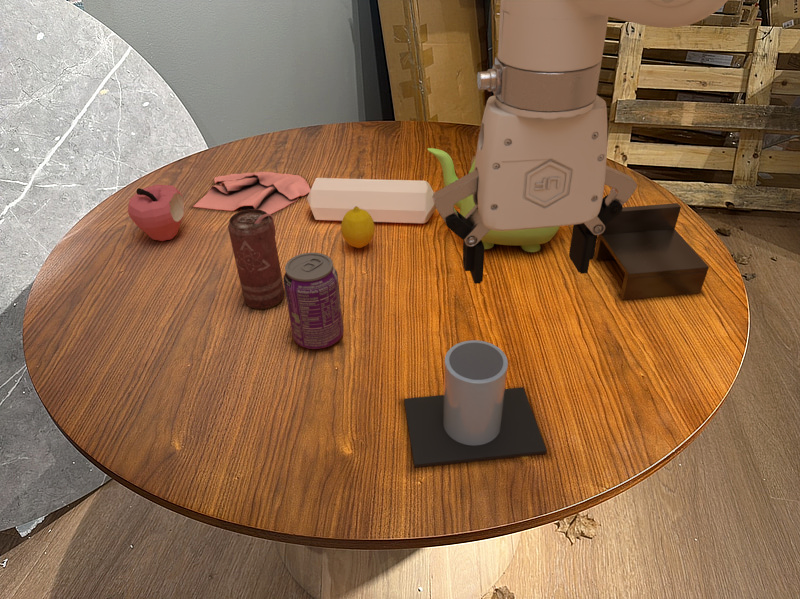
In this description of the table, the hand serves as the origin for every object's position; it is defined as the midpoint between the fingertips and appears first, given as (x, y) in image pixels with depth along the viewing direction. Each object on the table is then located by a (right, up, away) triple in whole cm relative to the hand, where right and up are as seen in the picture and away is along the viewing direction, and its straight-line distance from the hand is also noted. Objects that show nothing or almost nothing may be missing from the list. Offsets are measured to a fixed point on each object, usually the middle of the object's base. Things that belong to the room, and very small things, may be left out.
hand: (526, 270), depth 57 cm
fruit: (-19, +6, +48) cm, 52 cm away
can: (-32, -3, +37) cm, 49 cm away
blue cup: (-3, -17, +16) cm, 24 cm away
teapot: (+6, +10, +53) cm, 54 cm away
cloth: (-41, +18, +65) cm, 79 cm away
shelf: (+27, +1, +40) cm, 48 cm away
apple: (-53, +8, +53) cm, 75 cm away
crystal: (-17, +13, +57) cm, 61 cm away
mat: (-3, -18, +16) cm, 24 cm away
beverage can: (-23, -8, +30) cm, 39 cm away
